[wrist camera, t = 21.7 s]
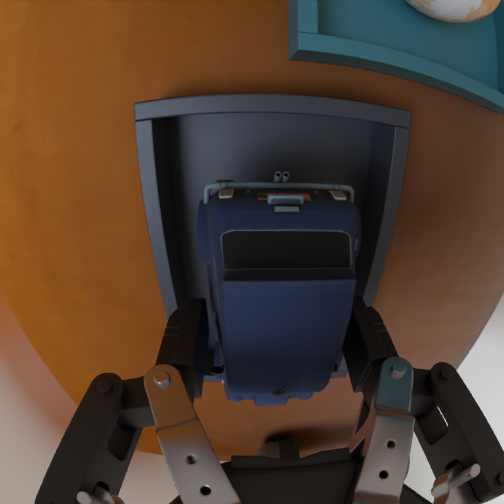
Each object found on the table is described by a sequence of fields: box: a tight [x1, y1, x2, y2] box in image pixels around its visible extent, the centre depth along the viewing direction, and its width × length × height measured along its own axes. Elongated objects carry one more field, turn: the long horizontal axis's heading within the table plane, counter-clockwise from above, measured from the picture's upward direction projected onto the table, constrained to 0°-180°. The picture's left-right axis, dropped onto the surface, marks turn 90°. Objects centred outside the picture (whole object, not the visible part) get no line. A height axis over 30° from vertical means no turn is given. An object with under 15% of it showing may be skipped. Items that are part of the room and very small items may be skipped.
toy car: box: [197, 171, 362, 406], centre depth 11 cm, size 6×12×6 cm, turn 0°
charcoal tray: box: [134, 93, 411, 382], centre depth 15 cm, size 18×12×3 cm, turn 0°
